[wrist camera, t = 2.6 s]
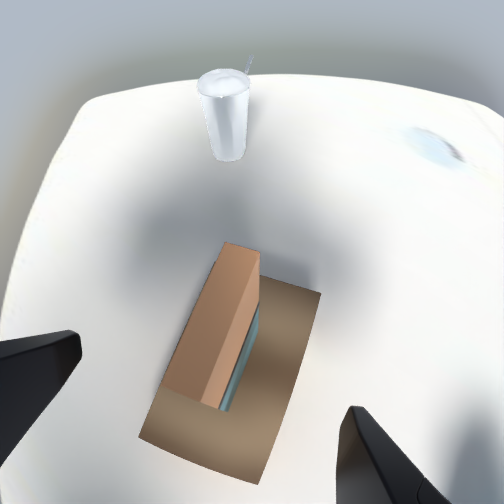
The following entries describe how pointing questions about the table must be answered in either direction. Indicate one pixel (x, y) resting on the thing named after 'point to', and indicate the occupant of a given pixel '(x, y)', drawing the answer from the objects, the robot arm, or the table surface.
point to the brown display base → (241, 390)
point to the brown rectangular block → (216, 327)
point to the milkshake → (226, 110)
